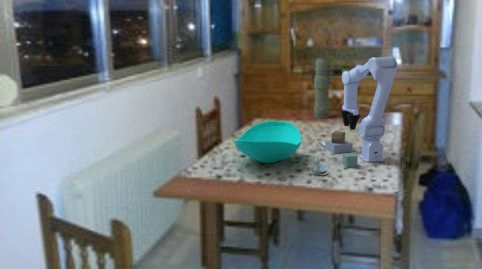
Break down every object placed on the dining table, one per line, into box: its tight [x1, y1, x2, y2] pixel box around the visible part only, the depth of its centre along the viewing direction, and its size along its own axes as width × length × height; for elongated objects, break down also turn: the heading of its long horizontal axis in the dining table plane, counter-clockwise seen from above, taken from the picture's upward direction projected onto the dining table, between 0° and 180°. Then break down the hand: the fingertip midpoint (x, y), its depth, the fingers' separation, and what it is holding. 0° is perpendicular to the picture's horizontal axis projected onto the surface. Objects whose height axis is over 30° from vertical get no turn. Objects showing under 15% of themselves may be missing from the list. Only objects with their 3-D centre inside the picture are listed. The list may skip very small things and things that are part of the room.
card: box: [318, 141, 325, 148], centre depth 247 cm, size 8×8×1 cm
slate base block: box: [324, 139, 353, 154], centre depth 237 cm, size 9×9×4 cm
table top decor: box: [233, 120, 303, 164], centre depth 222 cm, size 40×28×13 cm
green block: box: [342, 152, 359, 168], centre depth 213 cm, size 5×5×5 cm
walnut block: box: [331, 130, 346, 144], centre depth 236 cm, size 5×5×5 cm
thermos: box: [311, 56, 333, 119], centre depth 306 cm, size 9×12×35 cm
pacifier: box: [311, 157, 329, 176], centre depth 204 cm, size 7×6×6 cm
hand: (349, 127), depth 237 cm, fingers open, 7 cm apart
